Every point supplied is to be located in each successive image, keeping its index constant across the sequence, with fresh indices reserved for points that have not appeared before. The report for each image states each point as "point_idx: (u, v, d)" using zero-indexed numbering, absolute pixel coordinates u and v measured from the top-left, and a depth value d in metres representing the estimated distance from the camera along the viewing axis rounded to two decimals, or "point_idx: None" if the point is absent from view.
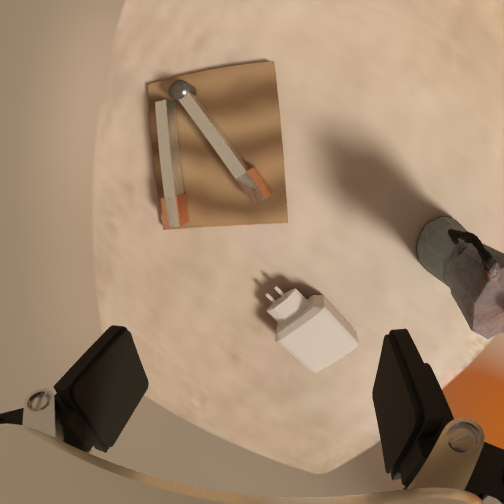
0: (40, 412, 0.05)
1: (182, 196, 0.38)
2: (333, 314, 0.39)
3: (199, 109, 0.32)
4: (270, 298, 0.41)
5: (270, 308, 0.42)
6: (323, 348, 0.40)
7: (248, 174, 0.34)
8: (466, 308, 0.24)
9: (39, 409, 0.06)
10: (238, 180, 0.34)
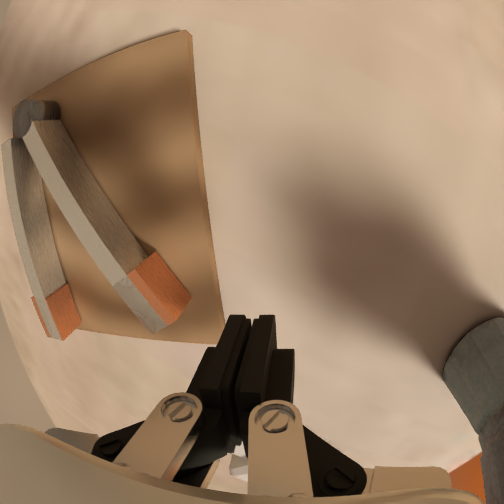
0: (171, 423, 0.06)
1: (60, 292, 0.20)
2: None
3: (45, 152, 0.14)
4: None
5: None
6: None
7: (132, 280, 0.16)
8: None
9: (173, 418, 0.06)
10: (117, 289, 0.17)
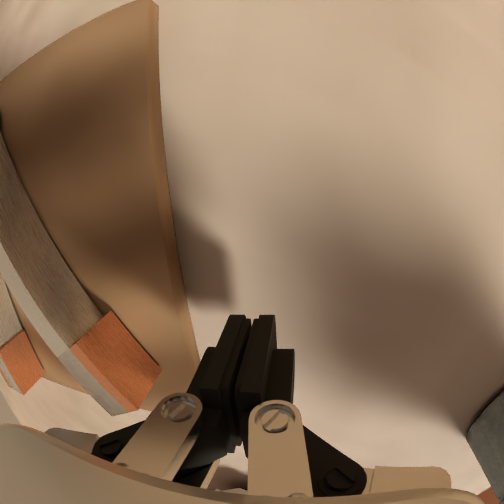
0: (171, 424, 0.06)
1: (15, 341, 0.14)
2: None
3: None
4: None
5: None
6: None
7: (78, 355, 0.10)
8: None
9: (173, 418, 0.06)
10: (62, 361, 0.11)
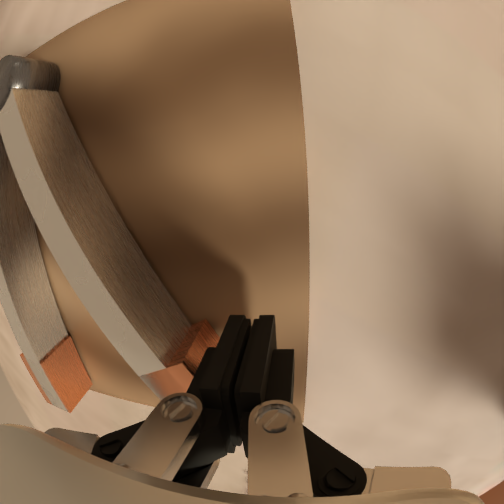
0: (171, 424, 0.06)
1: (61, 350, 0.13)
2: None
3: (26, 143, 0.07)
4: None
5: None
6: None
7: (175, 375, 0.10)
8: None
9: (173, 419, 0.06)
10: (147, 381, 0.10)
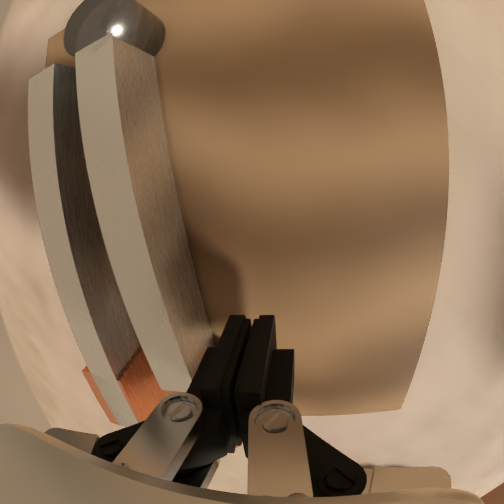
0: (171, 424, 0.06)
1: (139, 360, 0.13)
2: None
3: (115, 121, 0.07)
4: None
5: None
6: None
7: None
8: None
9: (173, 418, 0.06)
10: None
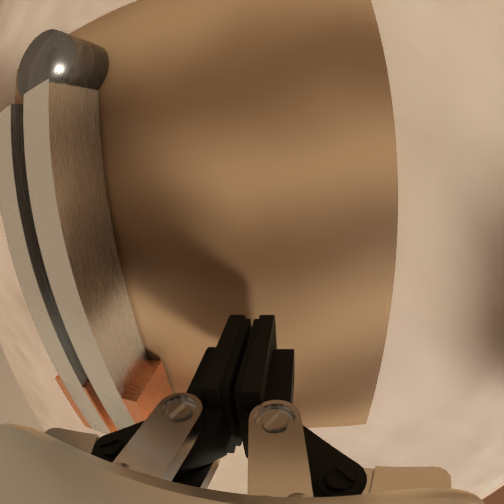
0: (171, 424, 0.06)
1: None
2: None
3: (48, 164, 0.07)
4: None
5: None
6: None
7: (126, 403, 0.11)
8: None
9: (173, 418, 0.06)
10: (100, 396, 0.11)
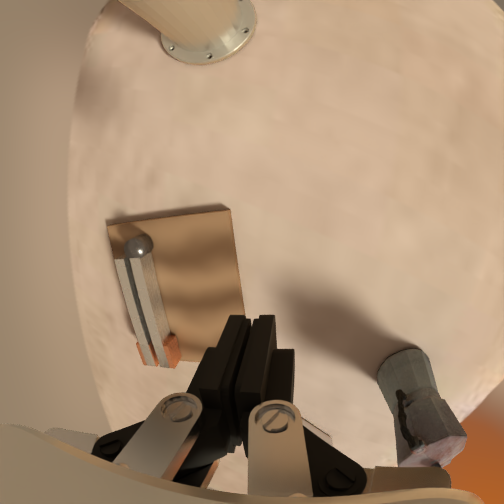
0: (171, 424, 0.06)
1: None
2: None
3: (143, 281, 0.35)
4: None
5: None
6: None
7: (164, 348, 0.38)
8: None
9: (173, 418, 0.06)
10: (154, 347, 0.38)
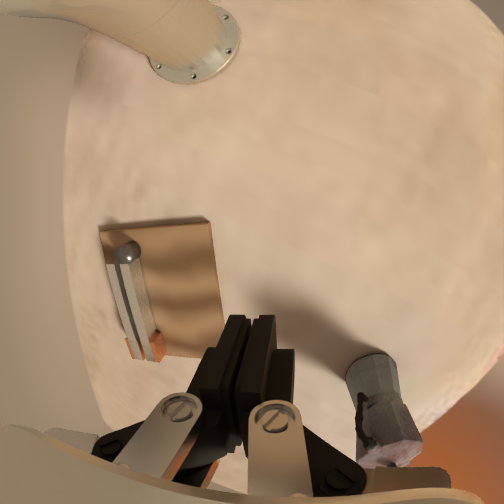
0: (171, 424, 0.06)
1: None
2: None
3: (132, 284, 0.38)
4: None
5: None
6: None
7: (150, 344, 0.41)
8: None
9: (173, 418, 0.06)
10: (142, 343, 0.42)
